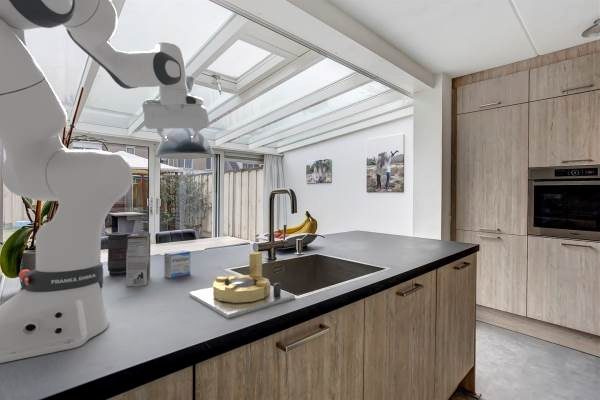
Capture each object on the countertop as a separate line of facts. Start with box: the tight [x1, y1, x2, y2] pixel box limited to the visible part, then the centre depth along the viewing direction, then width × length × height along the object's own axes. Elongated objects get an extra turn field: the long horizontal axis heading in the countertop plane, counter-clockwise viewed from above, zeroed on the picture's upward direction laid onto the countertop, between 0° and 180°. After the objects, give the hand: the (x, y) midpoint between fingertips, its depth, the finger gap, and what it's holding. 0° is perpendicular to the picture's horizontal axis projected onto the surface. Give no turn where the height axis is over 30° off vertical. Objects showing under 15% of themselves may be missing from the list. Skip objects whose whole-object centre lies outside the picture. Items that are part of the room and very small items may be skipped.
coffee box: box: [125, 232, 151, 288], centre depth 102 cm, size 9×6×16 cm
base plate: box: [188, 279, 296, 319], centre depth 89 cm, size 22×22×4 cm
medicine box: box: [163, 250, 191, 280], centre depth 111 cm, size 8×4×9 cm, turn 143°
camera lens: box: [107, 232, 132, 278], centre depth 112 cm, size 8×8×15 cm
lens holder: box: [212, 251, 271, 303], centre depth 90 cm, size 19×16×10 cm
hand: (179, 142), depth 104 cm, fingers open, 8 cm apart
